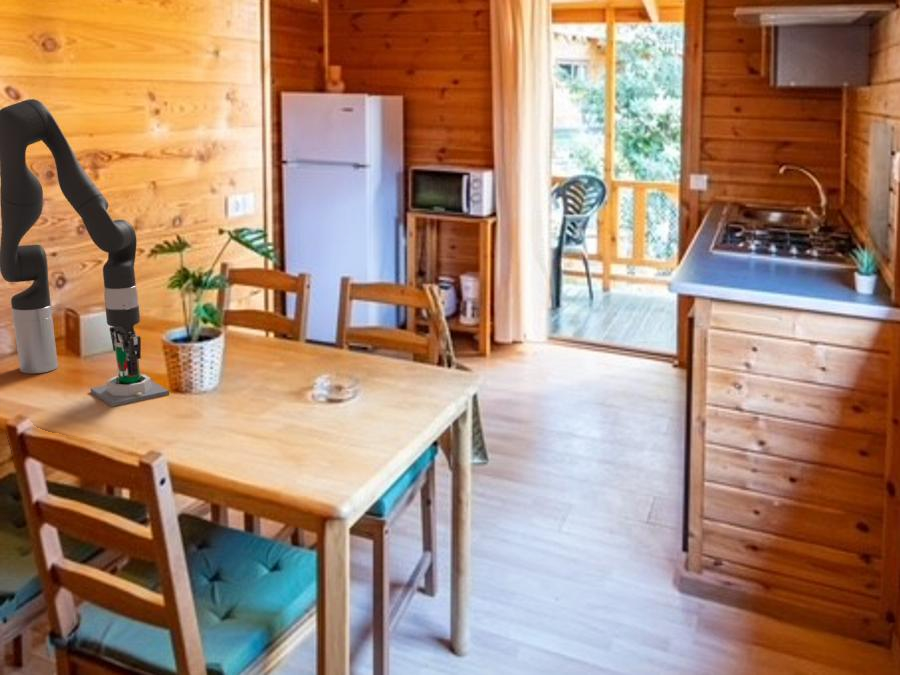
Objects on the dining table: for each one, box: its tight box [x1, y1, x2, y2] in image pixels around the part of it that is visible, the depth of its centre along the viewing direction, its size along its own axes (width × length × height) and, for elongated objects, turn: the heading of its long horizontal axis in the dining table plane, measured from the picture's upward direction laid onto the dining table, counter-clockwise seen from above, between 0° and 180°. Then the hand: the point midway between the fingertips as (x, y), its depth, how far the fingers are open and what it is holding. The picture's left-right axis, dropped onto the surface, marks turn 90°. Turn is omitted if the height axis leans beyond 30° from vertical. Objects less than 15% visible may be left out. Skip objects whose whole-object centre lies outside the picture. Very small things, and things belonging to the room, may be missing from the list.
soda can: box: [115, 342, 141, 385], centre depth 209 cm, size 5×5×12 cm
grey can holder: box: [90, 373, 170, 408], centre depth 210 cm, size 14×14×4 cm
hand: (128, 371), depth 209 cm, fingers closed on soda can, 5 cm apart
